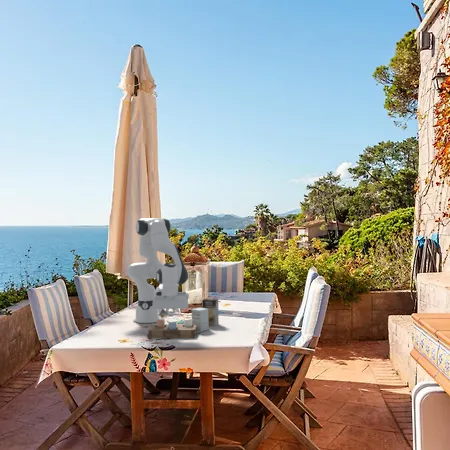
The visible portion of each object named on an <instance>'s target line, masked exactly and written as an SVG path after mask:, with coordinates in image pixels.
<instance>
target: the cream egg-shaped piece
mask: <svg viewBox="0 0 450 450" xmlns="http://www.w3.org/2000/svg"><path fill="white" fill-rule="evenodd" d="M183 323H184V324H183V325H184V327H192V318H185V319H183Z"/></svg>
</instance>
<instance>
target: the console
mask: <svg viewBox="0 0 450 450" xmlns="http://www.w3.org/2000/svg"><path fill="white" fill-rule="evenodd" d="M147 332H148V334H147V335H148V339H195V338H196V336H197V334H198V332H199V331H198V324H192V327H184V324H177V330H168V324H165V327H157V324H153V325H152V326H151V327H150V328H149V329H148V331H147Z"/></svg>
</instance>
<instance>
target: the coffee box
mask: <svg viewBox="0 0 450 450" xmlns="http://www.w3.org/2000/svg"><path fill="white" fill-rule="evenodd" d="M201 304H202V306H201V308H207V309H208V321H209V327H216V326H218V325H219V323H220V322H219V321H220V320H219V319H220V318H219V316H220V315H219V299H218V298H204V299H202V303H201Z"/></svg>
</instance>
